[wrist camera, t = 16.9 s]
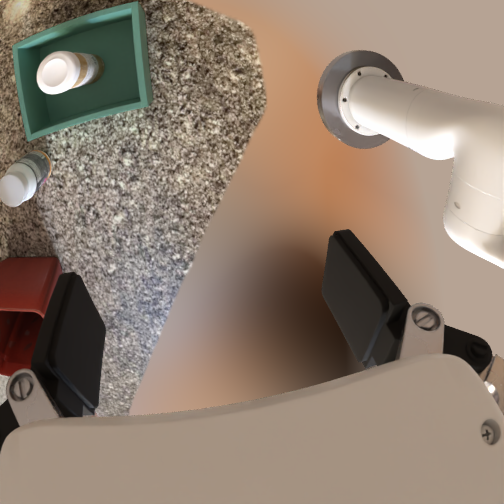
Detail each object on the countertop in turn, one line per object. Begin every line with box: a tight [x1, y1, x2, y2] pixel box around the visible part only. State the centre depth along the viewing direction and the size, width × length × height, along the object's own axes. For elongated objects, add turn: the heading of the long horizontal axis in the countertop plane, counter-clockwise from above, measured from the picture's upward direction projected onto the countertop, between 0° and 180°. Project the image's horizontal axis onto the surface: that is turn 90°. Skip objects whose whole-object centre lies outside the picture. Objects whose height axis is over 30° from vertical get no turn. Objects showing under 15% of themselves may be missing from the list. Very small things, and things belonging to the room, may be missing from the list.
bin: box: [12, 1, 153, 141], centre depth 28 cm, size 17×14×8 cm
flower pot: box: [0, 257, 63, 376], centre depth 41 cm, size 19×19×17 cm
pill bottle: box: [0, 150, 52, 207], centre depth 32 cm, size 6×6×10 cm
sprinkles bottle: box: [37, 51, 104, 94], centre depth 25 cm, size 5×5×14 cm
